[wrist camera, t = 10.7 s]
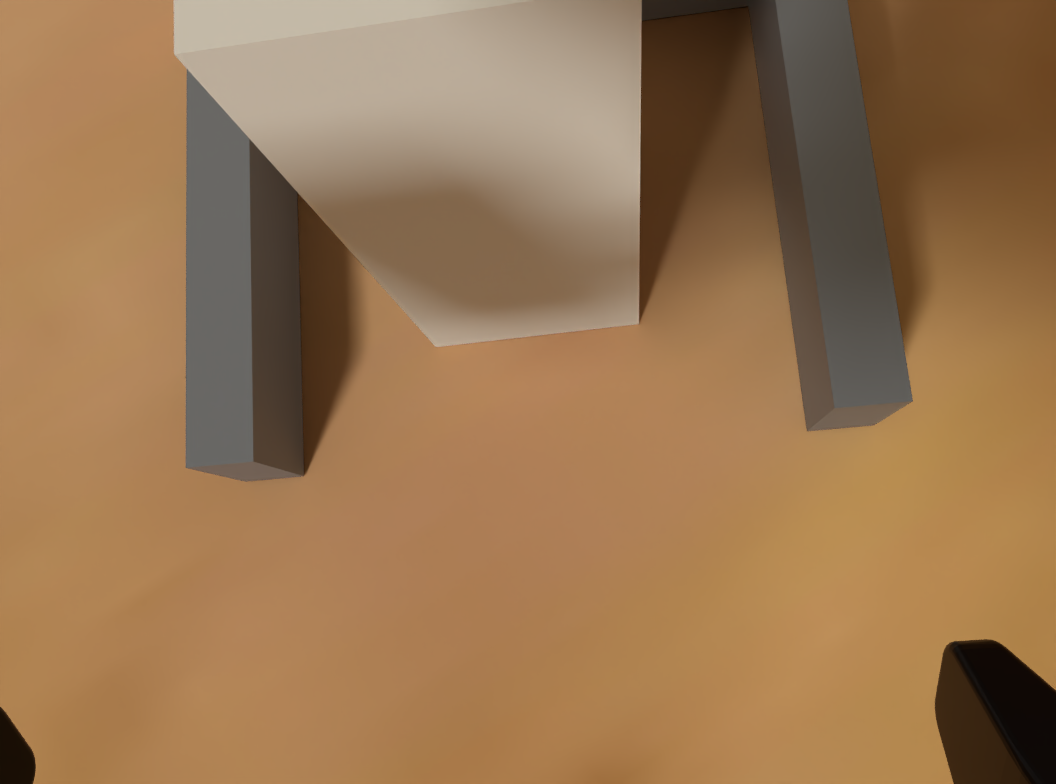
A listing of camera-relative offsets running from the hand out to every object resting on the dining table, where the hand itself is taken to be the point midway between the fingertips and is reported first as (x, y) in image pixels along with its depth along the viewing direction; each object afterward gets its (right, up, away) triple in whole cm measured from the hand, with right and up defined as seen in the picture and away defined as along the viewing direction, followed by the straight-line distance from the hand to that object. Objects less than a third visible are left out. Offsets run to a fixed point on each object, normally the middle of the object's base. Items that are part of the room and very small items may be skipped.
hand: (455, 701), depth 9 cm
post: (+1, +7, +14) cm, 16 cm away
